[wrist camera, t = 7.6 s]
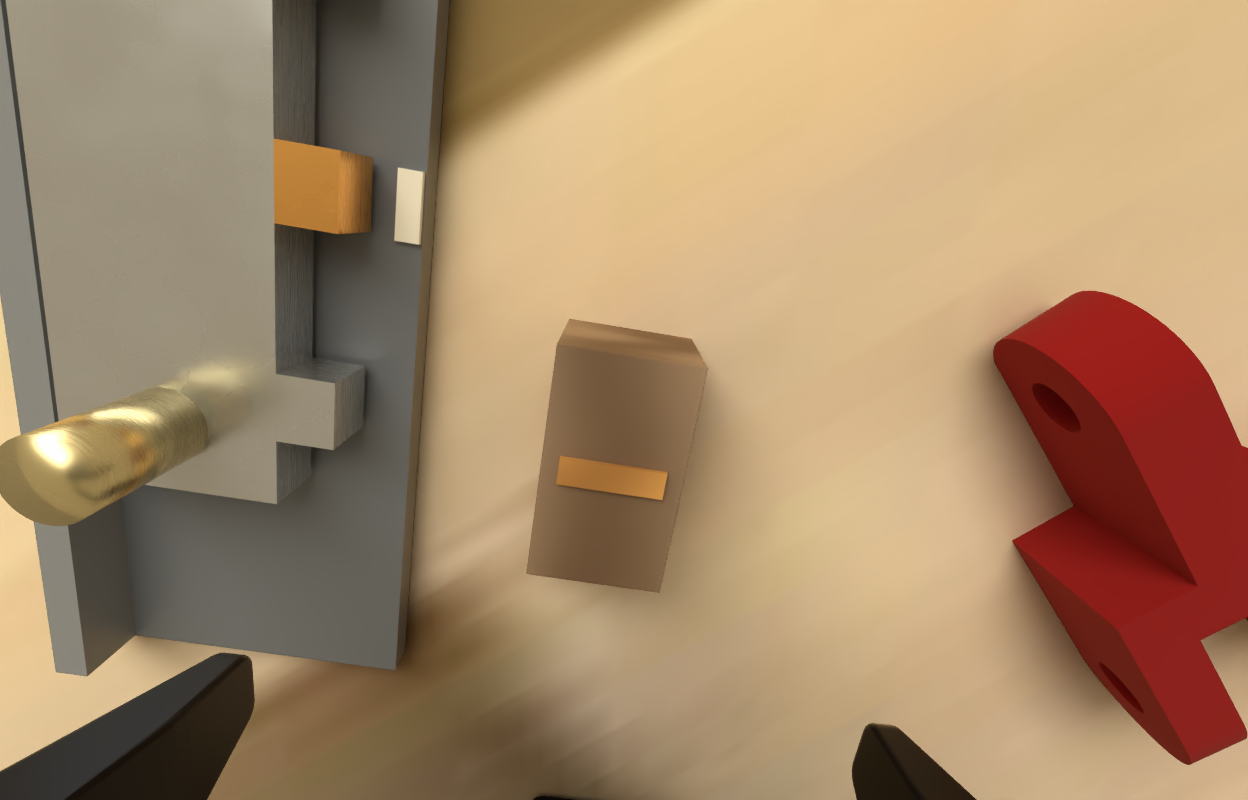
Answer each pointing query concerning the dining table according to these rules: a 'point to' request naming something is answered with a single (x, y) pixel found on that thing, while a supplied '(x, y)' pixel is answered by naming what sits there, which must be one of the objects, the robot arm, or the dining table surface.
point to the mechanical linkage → (1137, 510)
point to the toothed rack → (178, 250)
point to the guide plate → (342, 331)
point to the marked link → (614, 454)
